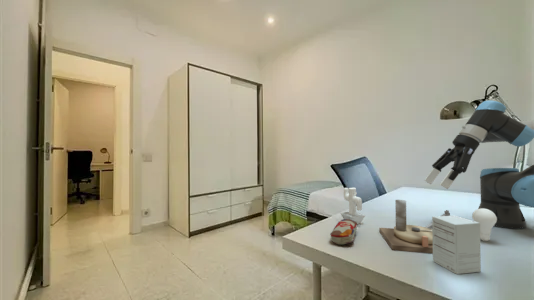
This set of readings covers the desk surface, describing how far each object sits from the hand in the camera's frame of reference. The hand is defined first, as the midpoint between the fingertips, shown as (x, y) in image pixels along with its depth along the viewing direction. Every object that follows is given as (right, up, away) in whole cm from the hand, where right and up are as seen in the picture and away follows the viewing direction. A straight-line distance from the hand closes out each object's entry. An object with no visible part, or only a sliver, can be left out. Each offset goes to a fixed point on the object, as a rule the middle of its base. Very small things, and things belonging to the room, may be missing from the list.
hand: (434, 184), depth 92 cm
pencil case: (-38, -18, -7) cm, 42 cm away
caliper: (+1, -18, +1) cm, 18 cm away
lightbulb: (+8, -18, -12) cm, 23 cm away
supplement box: (-15, -18, -29) cm, 38 cm away
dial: (-16, -16, -13) cm, 26 cm away
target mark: (-17, -16, -20) cm, 31 cm away
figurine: (-29, -18, +9) cm, 35 cm away
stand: (-16, -18, -13) cm, 27 cm away
